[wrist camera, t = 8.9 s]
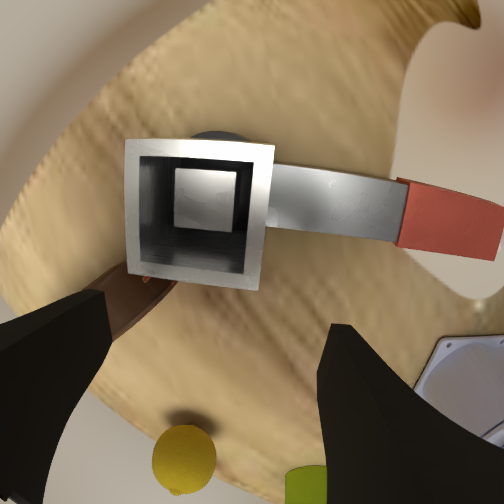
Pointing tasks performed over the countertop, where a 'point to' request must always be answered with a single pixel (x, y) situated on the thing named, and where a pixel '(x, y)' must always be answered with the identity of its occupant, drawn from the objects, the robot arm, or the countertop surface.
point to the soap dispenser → (306, 485)
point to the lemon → (184, 459)
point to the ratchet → (336, 205)
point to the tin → (129, 296)
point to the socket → (189, 239)
